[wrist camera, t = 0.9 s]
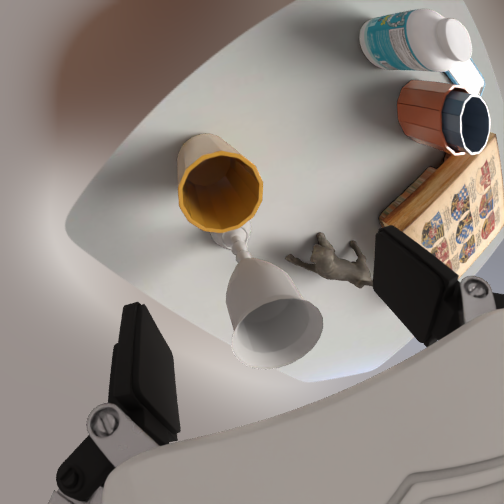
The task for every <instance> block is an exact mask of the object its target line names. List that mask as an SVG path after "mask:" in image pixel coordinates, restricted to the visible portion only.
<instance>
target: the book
mask: <svg viewBox="0 0 504 504" xmlns="http://www.w3.org/2000/svg"><path fill="white" fill-rule="evenodd" d="M379 221H380V224H381V227H382V228H383V227H386V226H389V225H393V226H395V227H396V228H398V229H399V230H401V231H402V232H403V233H405V234H406V235H407V236H409V237H410V238H412V239H413V240H414V241H416V242H417V243H418V244H420V245H421V246H422V247H424V248H425V249H426V250H428V251H429V252H430V253H431V254H433V255H434V256H435V257H437V258H438V259H439V260H440V261H442V262H443V263H444V264H445V265H447V266H448V267H449V268H450V269H452V270H453V271H454V272H455V273H457V274H458V275H459V277H458V279H459V278H460V277H461V276H462V275H463V274H464V273H465V271H466V270H467V269H468V268H469V267H470V266H471V265H472V264H473V263H474V261H475V260H476V259H477V258H478V257H479V256H480V255H481V253H482V252H483V251H484V250H485V249H486V248H487V246H488V245H489V244H490V243H491V241H492V240H493V239H494V238H495V236H496V235H497V234H498V233H499V231H500V230H501V229H502V228H503V226H504V188H503V178H502V169H501V162H500V155H499V149H498V143H497V138H496V134H494V133H491V132H490V134H489V137H488V141H487V144H486V146H485V147H484V149H483V150H482V151H481V152H480V154H476V155H470V154H467V153H466V154H464V155H458V156H455V155H452V154H449V153H447V152H446V155H445V158H444V163H443V164H442V165H441V166H440V167H439V168H438V169H435V168H432V167H428V168H427V170H425V172H424V173H423V174H422V175H421V176H420V177H418V179H417V180H416V181H415V182H414V183H413V184H412V185H411V186H409V187H408V189H406V191H405V192H404V193H403V194H402V195H400V196H399V197H397V199H396V200H395V201H394V202H392V203H391V204H390V206H389V207H387V208H386V209H385V210H384V211H383V212H382V214H381V215H380V217H379Z"/></svg>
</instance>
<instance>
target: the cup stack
mask: <svg viewBox="0 0 504 504" xmlns="http://www.w3.org/2000/svg"><path fill="white" fill-rule="evenodd" d="M397 112H398V120H399V123H400V125H401V127H402V129H403V131H404V134H405V135H406V136H408V137H409V138H411V139H412V140H414V141H415V142H418V143H421V144H424V145H427V146H430V147H433V148H436V149H438V150H441V151H444V152H447V153H449V154H452V155H455V156H458V155H464V154H466V153H467V154H470V155H476V154H480V152H481V151H482V150H483V149H484V147H485V146H486V144H487V141H488V137H489V134H490V115H489V111H488V108H487V104H486V103H485V101H484V100H483V99H482V98H481V96H480V95H477V94H472V93H470V92H469V90H468V89H467V88H466V87H465V86H462V85H455V84H448V83H440V82H431V81H421V80H411V81H410V82H408V83H407V84H406V85H405V86H404V87H402V89H401V92H400V95H399V98H398V101H397Z"/></svg>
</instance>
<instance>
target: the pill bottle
mask: <svg viewBox="0 0 504 504" xmlns="http://www.w3.org/2000/svg"><path fill="white" fill-rule="evenodd" d="M359 40H360V45H361V48H362V50H363V52H364V54H365V56H366V57H367V58H368V60H369V61H370V62H371V63H373V64H374V65H375V66H377V67H379V68H382V69H386V70H418V71H434V72H445V71H448V70H450V69H452V68H453V67H454V66H455V64H456V62H457V61H461V62H465V61H468V60H469V59H470V57H471V54H472V43H471V39H470V36H469V34H468V32H467V30H466V28H465V27H464V26H463V24H462V23H461V22H460V21H458V20H456V19H454V18H444V17H443V16H442V15H440V14H439V13H437V12H436V11H433V10H430V9H417V10H411V11H406V12H400V13H395V14H391V15H386V16H382V17H377V18H374V19H370V20H368V21H367V22H365V23H364V24H363V26H362V28H361V30H360V35H359Z"/></svg>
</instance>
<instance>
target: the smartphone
mask: <svg viewBox="0 0 504 504" xmlns="http://www.w3.org/2000/svg"><path fill="white" fill-rule="evenodd" d="M445 73H446V74H447V76H448V77H449V78H450V79H451V81H452V82H453V83H454V84H455V85H462V86H465V87H466V88H467V89H468V90H469V92H470V93H472V94H477V95H480V96H481V95H482V92H483V89H484V87H485V80H484V78H483V76H482V75H481V73H480V71H479V70H478V68H477V67H476V65H475V64H474V62H473V61H472V59H471V58H470V59H469V60H468V61H465V62H461V61H457V62H456V64H455V66H454V67H453V68H452V69H450V70H448V71H445Z"/></svg>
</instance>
